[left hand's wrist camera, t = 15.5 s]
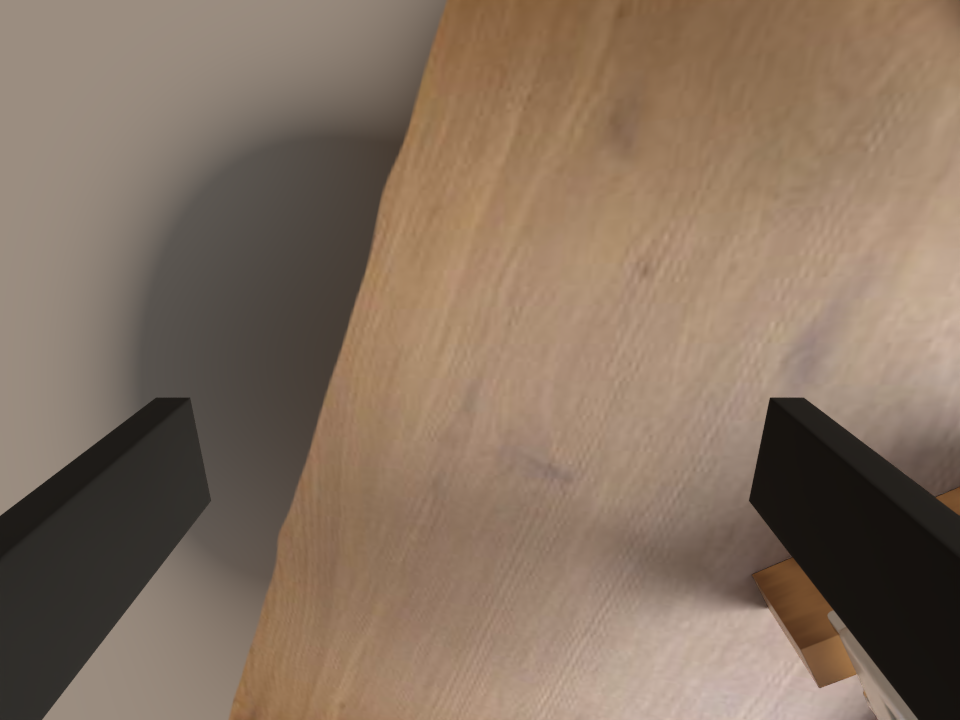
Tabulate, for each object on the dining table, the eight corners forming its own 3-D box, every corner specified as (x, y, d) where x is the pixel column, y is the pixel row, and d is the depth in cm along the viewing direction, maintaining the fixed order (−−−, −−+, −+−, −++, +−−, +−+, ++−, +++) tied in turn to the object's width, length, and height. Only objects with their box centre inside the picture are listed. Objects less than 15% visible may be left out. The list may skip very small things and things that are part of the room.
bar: (1053, 447, 48) (1168, 506, 40) (1064, 489, 50) (1176, 554, 42) (751, 574, 53) (800, 649, 45) (769, 609, 54) (819, 688, 46)
